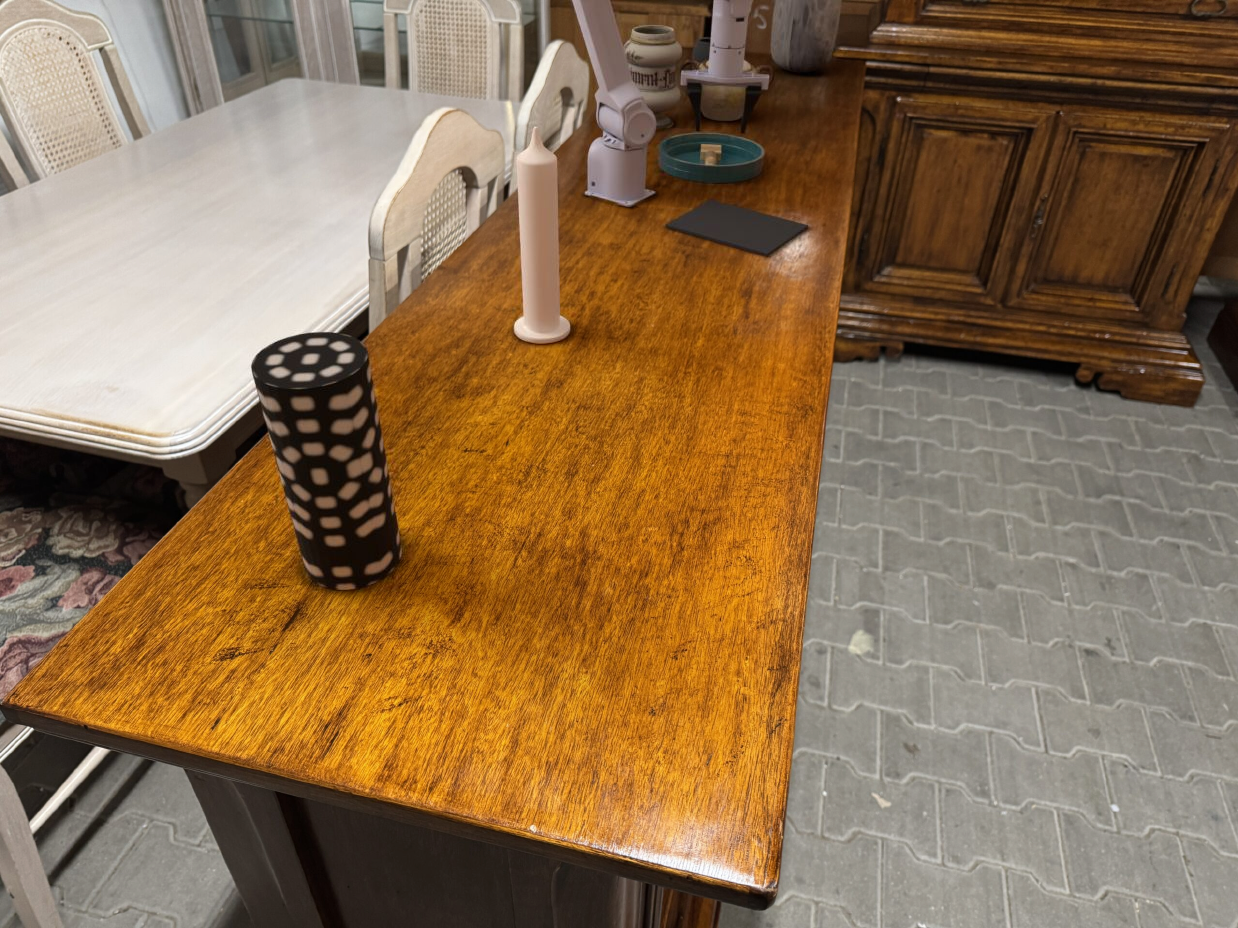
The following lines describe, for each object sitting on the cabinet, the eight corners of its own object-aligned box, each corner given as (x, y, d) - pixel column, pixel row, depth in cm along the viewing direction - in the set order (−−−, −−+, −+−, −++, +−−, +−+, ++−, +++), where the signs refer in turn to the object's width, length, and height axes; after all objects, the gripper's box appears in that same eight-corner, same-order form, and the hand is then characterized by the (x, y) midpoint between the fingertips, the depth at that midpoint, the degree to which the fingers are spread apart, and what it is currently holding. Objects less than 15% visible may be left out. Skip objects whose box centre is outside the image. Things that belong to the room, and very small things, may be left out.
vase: (815, 82, 213) (837, -60, 195) (756, 72, 220) (771, -67, 202) (840, 70, 224) (862, -67, 206) (782, 60, 231) (799, -72, 212)
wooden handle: (700, 152, 167) (701, 140, 165) (720, 153, 167) (721, 141, 165) (699, 177, 156) (700, 165, 154) (720, 178, 155) (721, 166, 154)
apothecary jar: (612, 127, 180) (613, 31, 169) (633, 112, 189) (636, 20, 178) (667, 135, 176) (672, 38, 166) (686, 119, 185) (692, 26, 175)
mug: (724, 99, 199) (729, 45, 192) (684, 96, 200) (687, 43, 193) (728, 86, 208) (733, 34, 202) (690, 83, 210) (693, 32, 203)
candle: (527, 349, 107) (517, 140, 92) (505, 324, 112) (493, 121, 97) (579, 337, 109) (579, 132, 94) (556, 313, 114) (552, 114, 99)
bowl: (637, 170, 159) (638, 151, 157) (692, 144, 172) (694, 126, 170) (729, 194, 151) (731, 174, 149) (780, 165, 163) (783, 146, 161)
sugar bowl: (767, 108, 194) (776, 34, 185) (770, 128, 182) (780, 50, 173) (678, 104, 195) (683, 30, 186) (675, 123, 183) (680, 45, 174)
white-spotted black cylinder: (314, 526, 80) (265, 333, 68) (406, 523, 81) (375, 330, 69) (295, 592, 73) (238, 390, 61) (396, 587, 74) (358, 387, 62)
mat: (665, 227, 138) (665, 224, 138) (710, 202, 147) (710, 199, 147) (767, 257, 130) (767, 253, 130) (808, 228, 139) (808, 225, 139)
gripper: (771, 42, 145) (761, 126, 154) (684, 38, 146) (679, 122, 155) (773, 51, 140) (762, 138, 148) (682, 47, 141) (677, 133, 149)
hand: (720, 131), depth 151 cm, fingers open, 7 cm apart
